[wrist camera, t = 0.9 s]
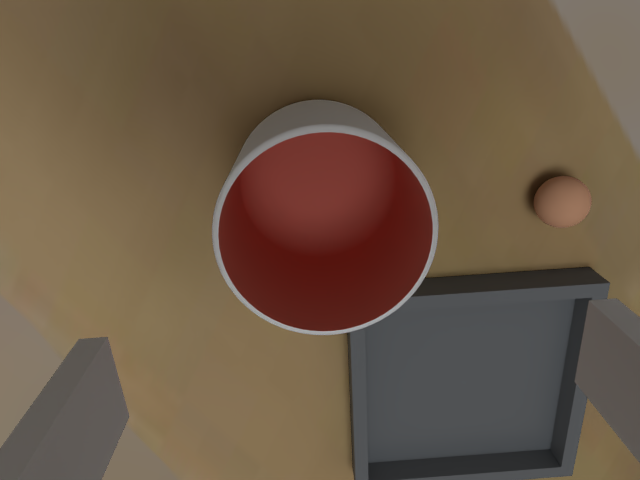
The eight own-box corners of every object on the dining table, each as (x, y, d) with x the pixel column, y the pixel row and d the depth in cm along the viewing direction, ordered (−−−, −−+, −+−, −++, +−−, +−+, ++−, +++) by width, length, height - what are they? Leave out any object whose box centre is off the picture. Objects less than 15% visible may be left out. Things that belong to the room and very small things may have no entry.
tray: (345, 283, 33) (348, 301, 31) (589, 266, 34) (609, 282, 32) (352, 467, 40) (355, 492, 38) (556, 451, 40) (572, 475, 38)
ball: (527, 171, 31) (552, 186, 28) (577, 168, 31) (607, 182, 28) (522, 219, 32) (545, 237, 29) (570, 216, 32) (597, 233, 29)
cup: (347, 63, 28) (372, 75, 19) (423, 204, 32) (475, 272, 22) (205, 152, 30) (163, 204, 20) (292, 277, 33) (290, 369, 24)
